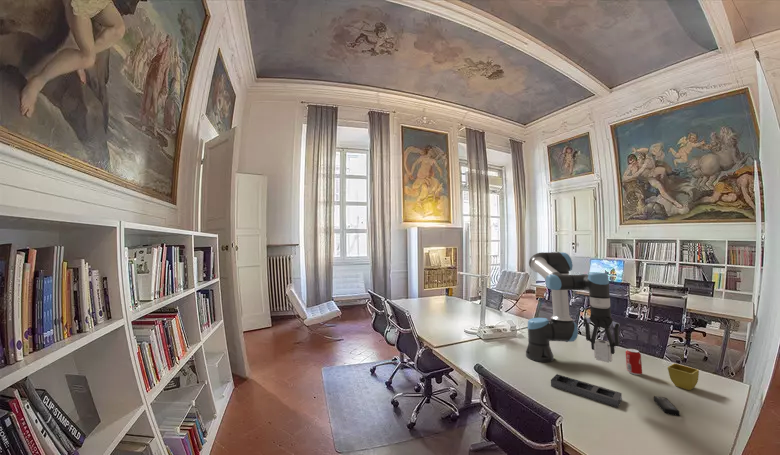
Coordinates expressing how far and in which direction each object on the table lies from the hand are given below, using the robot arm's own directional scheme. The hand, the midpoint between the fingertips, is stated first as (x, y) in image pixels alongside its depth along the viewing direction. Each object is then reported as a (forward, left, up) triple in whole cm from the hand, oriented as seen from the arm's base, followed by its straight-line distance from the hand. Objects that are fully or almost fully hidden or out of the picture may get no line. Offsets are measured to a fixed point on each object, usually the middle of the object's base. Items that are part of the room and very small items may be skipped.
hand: (603, 358), depth 127 cm
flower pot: (+24, +40, -18) cm, 50 cm away
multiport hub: (+19, +10, -18) cm, 28 cm away
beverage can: (+5, +42, -18) cm, 46 cm away
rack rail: (-8, 0, -18) cm, 19 cm away
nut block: (0, 0, 0) cm, 0 cm away
